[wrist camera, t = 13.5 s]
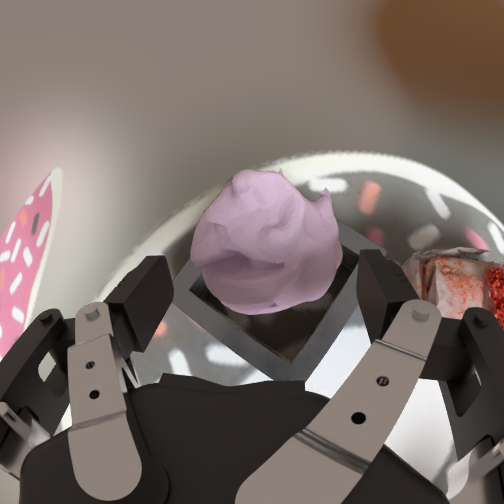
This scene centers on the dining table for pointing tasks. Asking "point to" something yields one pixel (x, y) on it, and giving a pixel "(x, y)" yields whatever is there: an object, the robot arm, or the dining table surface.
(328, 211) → the ice cream cone
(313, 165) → the dining table surface
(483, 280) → the food item
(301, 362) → the hollow square frame
